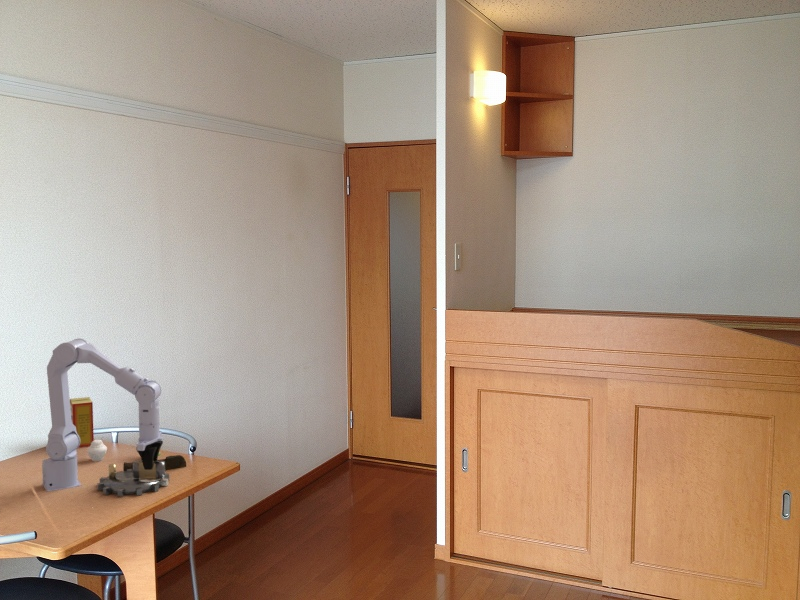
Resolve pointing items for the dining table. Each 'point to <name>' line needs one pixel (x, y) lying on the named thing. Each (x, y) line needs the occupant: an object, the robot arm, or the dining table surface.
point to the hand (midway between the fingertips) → (150, 467)
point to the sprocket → (129, 483)
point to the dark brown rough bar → (170, 463)
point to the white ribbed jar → (97, 450)
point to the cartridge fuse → (155, 472)
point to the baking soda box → (83, 419)
